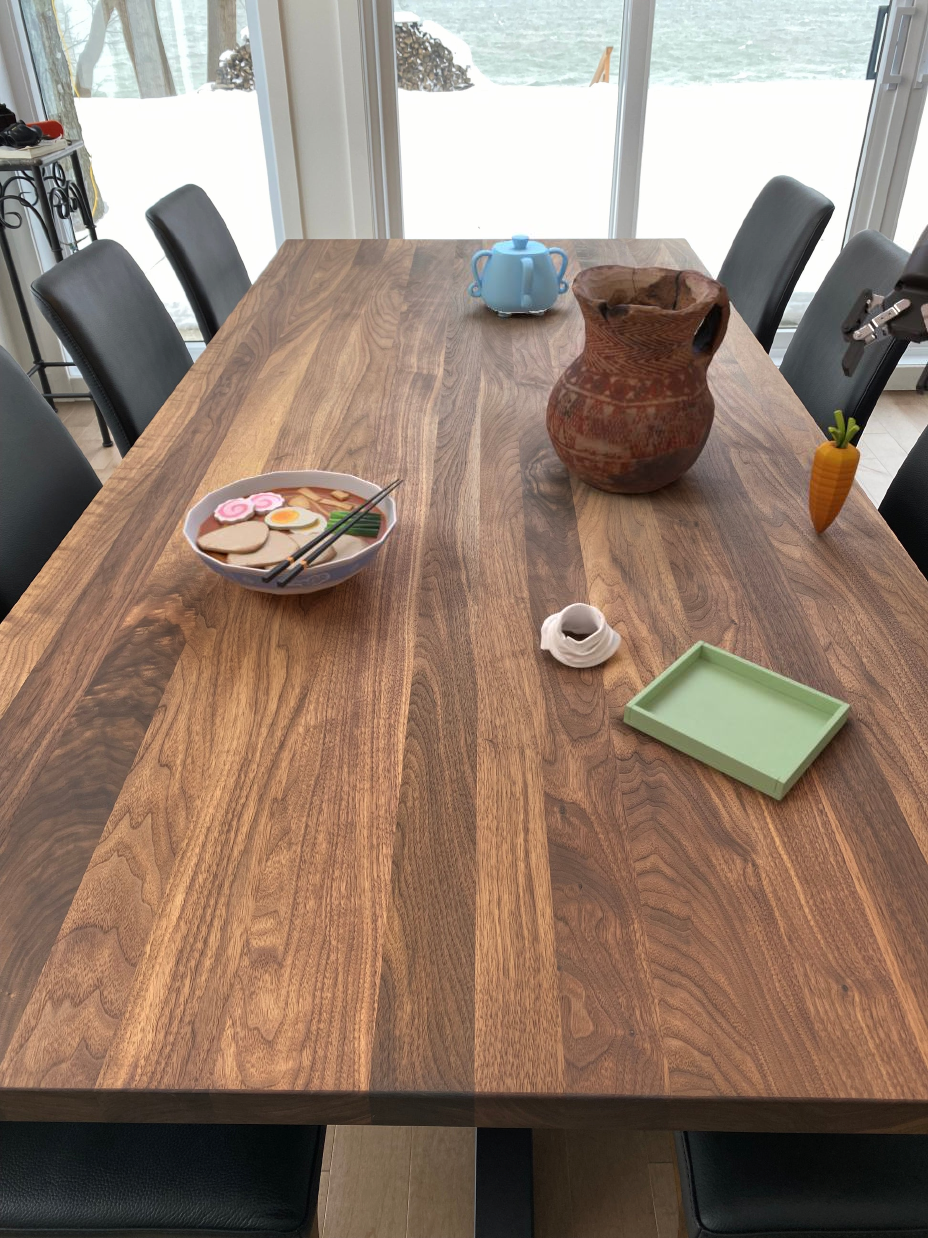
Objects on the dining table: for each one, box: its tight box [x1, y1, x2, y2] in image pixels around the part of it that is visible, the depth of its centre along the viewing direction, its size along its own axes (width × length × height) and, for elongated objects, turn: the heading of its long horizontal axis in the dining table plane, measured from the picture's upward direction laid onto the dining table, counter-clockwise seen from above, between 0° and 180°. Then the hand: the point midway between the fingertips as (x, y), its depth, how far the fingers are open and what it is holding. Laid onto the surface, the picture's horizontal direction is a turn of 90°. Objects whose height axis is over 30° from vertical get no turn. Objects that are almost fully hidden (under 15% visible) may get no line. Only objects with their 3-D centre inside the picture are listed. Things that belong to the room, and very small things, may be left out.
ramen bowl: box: [181, 469, 404, 596], centre depth 106 cm, size 25×23×8 cm
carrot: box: [808, 409, 861, 534], centre depth 112 cm, size 5×5×15 cm
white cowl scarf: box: [540, 602, 622, 668], centre depth 96 cm, size 8×7×5 cm
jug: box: [545, 264, 731, 495], centre depth 123 cm, size 22×21×25 cm
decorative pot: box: [468, 234, 570, 318], centre depth 186 cm, size 16×16×14 cm
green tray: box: [622, 639, 851, 802], centre depth 87 cm, size 15×13×2 cm
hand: (882, 382), depth 113 cm, fingers open, 8 cm apart
